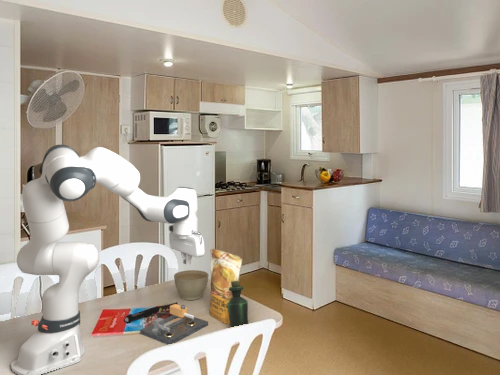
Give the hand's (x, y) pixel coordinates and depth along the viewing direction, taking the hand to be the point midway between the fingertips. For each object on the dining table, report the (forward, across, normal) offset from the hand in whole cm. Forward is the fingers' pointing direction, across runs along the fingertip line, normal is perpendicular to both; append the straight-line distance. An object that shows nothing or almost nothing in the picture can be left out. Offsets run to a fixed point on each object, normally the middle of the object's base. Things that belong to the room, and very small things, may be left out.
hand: (186, 264), depth 160 cm
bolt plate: (+26, +2, +4) cm, 26 cm away
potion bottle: (+25, -15, -14) cm, 32 cm away
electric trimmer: (+26, +21, +9) cm, 35 cm away
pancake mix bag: (+26, 0, -17) cm, 31 cm away
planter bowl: (+26, +28, -20) cm, 43 cm away
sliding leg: (+24, +5, -1) cm, 25 cm away
